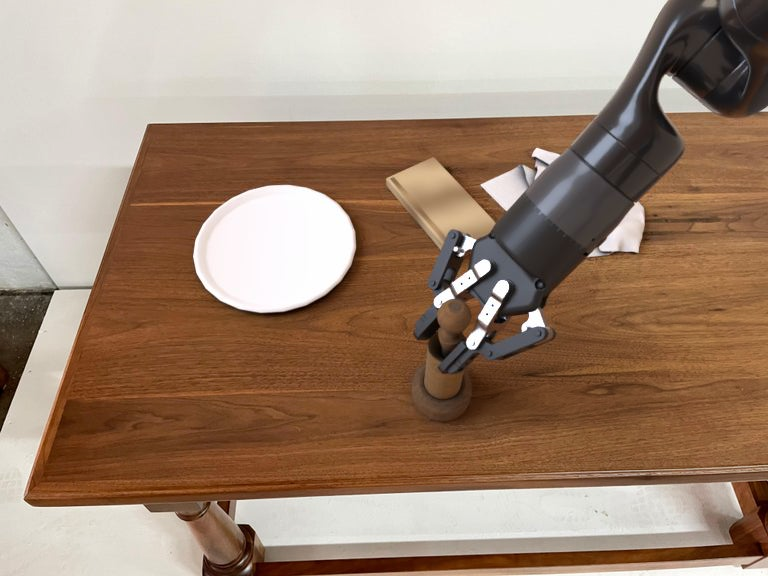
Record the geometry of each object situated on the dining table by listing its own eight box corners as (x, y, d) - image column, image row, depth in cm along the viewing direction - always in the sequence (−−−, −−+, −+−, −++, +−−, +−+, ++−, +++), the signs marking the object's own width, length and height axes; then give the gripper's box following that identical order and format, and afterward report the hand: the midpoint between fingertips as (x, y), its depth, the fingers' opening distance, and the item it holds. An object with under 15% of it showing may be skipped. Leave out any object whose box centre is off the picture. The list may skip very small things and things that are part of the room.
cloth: (659, 264, 77) (666, 252, 75) (487, 261, 77) (490, 249, 75) (626, 152, 88) (632, 139, 86) (476, 150, 88) (479, 137, 86)
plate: (197, 330, 71) (194, 325, 70) (193, 201, 83) (191, 195, 82) (369, 301, 73) (369, 295, 72) (343, 180, 85) (342, 173, 84)
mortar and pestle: (398, 391, 67) (402, 304, 52) (440, 356, 69) (454, 263, 54) (440, 434, 64) (457, 355, 49) (482, 396, 66) (509, 310, 52)
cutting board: (501, 237, 79) (503, 230, 78) (451, 263, 77) (453, 256, 75) (433, 164, 87) (433, 156, 85) (385, 185, 84) (385, 177, 83)
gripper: (489, 154, 50) (368, 298, 57) (607, 271, 44) (455, 418, 50) (526, 175, 56) (412, 303, 63) (635, 280, 50) (496, 411, 56)
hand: (432, 353), depth 57 cm, fingers closed on mortar and pestle, 3 cm apart
